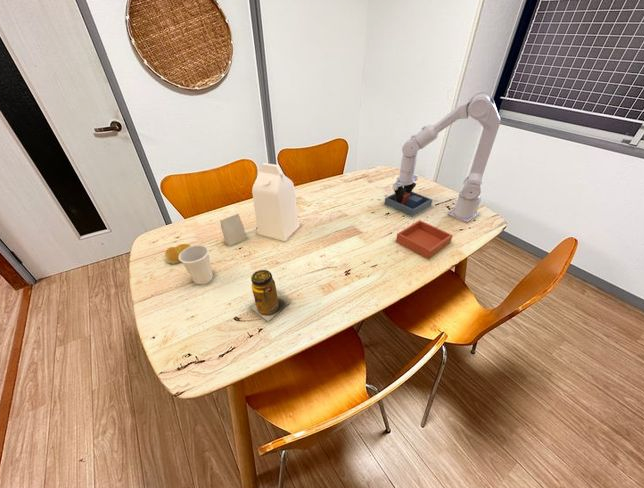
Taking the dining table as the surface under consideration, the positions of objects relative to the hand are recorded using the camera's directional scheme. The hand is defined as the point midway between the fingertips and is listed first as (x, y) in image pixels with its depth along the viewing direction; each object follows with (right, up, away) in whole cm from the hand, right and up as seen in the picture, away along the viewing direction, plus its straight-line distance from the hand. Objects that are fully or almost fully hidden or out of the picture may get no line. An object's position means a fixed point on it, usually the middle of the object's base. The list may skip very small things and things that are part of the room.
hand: (402, 200), depth 122 cm
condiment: (-49, -38, -44) cm, 76 cm away
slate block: (+4, -4, -3) cm, 6 cm away
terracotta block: (0, -1, +1) cm, 1 cm away
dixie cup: (-72, -31, -34) cm, 86 cm away
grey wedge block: (-67, -19, -18) cm, 72 cm away
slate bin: (+2, -3, -1) cm, 3 cm away
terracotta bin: (+1, -19, -22) cm, 29 cm away
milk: (-52, -14, -13) cm, 55 cm away
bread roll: (-84, -25, -25) cm, 91 cm away
